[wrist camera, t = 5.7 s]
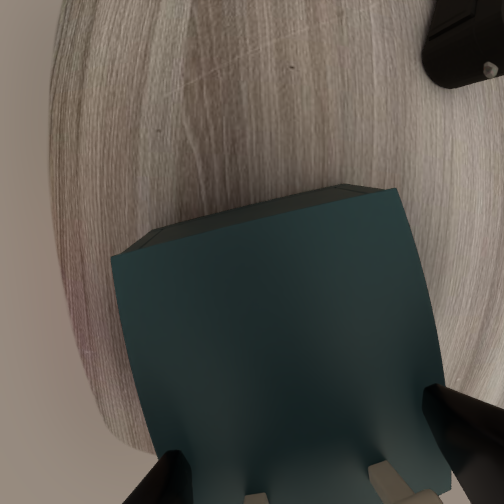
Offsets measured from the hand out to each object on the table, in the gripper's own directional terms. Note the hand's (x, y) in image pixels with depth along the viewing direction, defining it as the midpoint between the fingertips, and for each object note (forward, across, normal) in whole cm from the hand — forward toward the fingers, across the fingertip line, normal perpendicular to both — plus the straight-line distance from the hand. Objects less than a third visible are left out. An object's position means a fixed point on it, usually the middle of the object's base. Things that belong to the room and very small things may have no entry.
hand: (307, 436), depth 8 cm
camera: (+9, -17, -14) cm, 24 cm away
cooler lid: (+1, 0, 0) cm, 1 cm away
